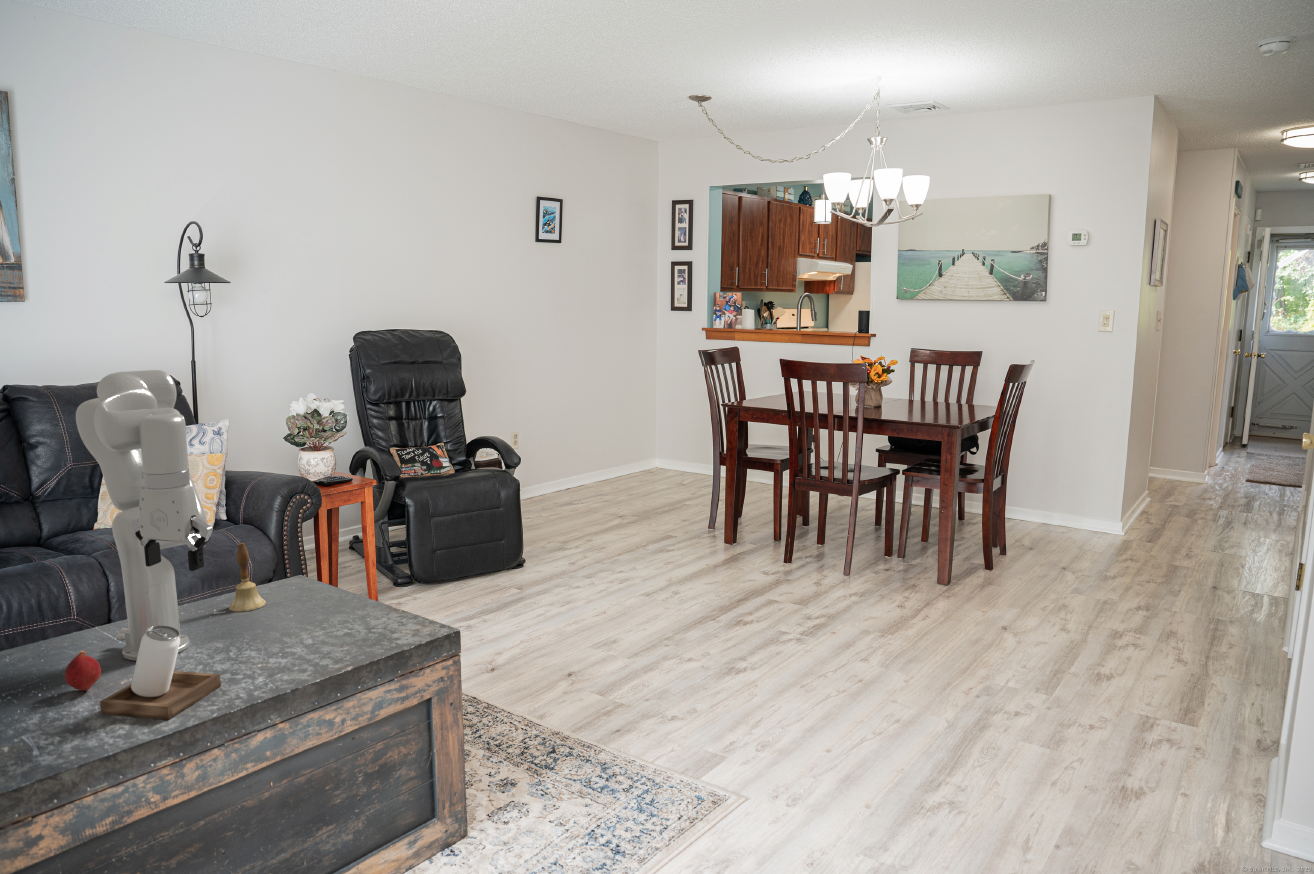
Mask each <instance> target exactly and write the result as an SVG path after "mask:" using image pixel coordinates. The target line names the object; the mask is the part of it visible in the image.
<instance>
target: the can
mask: <svg viewBox="0 0 1314 874" xmlns="http://www.w3.org/2000/svg"><path fill="white" fill-rule="evenodd" d="M180 633H181V632H180ZM180 633H179V631H178V630H177V629H175V628H173V627H170V626H164V625H158V626H152V627H150V628H148V629H147V630H146V633H145V635H144V636H143V637H142V640H141V644H140V648H139V652H138V657H137V661H136V662H135V666H134V670H133V675H132V680H131V683H130V684H131V689H132V691H133V692H134V693H135V694H137V695H139V696H142V697H148V698H152V697H159V696H161V695H163V694H165V693H166V692H167V691H168V690H169V688H170V684H171V680H172V675H173V671H175V667H176V662H177V658H178V654H179V653H178V650H179V645H180V638H179V634H180Z"/></svg>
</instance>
